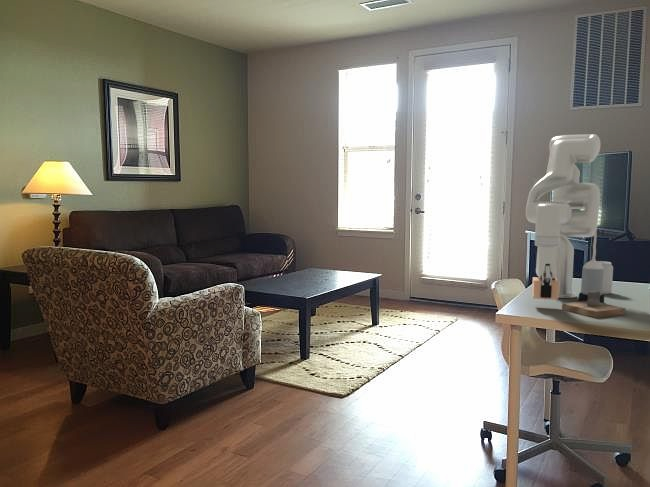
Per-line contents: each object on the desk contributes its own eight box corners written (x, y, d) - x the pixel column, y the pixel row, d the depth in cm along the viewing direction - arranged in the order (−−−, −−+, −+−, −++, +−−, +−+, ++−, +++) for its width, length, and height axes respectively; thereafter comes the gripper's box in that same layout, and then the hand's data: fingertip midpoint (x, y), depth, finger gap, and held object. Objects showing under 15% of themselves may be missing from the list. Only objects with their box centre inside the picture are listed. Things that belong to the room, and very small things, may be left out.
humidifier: (589, 305, 189) (594, 232, 187) (573, 300, 197) (577, 230, 194) (609, 304, 191) (614, 232, 189) (592, 299, 199) (596, 230, 197)
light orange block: (531, 294, 188) (532, 275, 187) (555, 295, 186) (556, 276, 185) (533, 298, 183) (534, 278, 182) (557, 299, 181) (558, 279, 180)
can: (592, 290, 218) (594, 259, 217) (613, 292, 213) (615, 261, 212) (587, 292, 212) (589, 261, 211) (608, 295, 207) (610, 263, 206)
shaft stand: (562, 309, 183) (563, 289, 182) (590, 306, 188) (591, 287, 187) (595, 318, 171) (596, 296, 170) (625, 314, 176) (626, 293, 175)
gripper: (532, 237, 191) (530, 289, 194) (537, 244, 175) (534, 300, 177) (556, 238, 189) (553, 290, 192) (562, 245, 173) (560, 301, 175)
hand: (544, 294), depth 184 cm, fingers closed on light orange block, 6 cm apart
